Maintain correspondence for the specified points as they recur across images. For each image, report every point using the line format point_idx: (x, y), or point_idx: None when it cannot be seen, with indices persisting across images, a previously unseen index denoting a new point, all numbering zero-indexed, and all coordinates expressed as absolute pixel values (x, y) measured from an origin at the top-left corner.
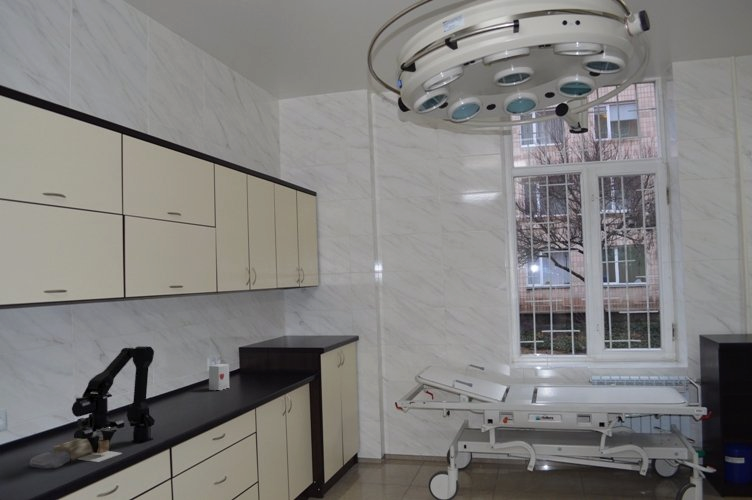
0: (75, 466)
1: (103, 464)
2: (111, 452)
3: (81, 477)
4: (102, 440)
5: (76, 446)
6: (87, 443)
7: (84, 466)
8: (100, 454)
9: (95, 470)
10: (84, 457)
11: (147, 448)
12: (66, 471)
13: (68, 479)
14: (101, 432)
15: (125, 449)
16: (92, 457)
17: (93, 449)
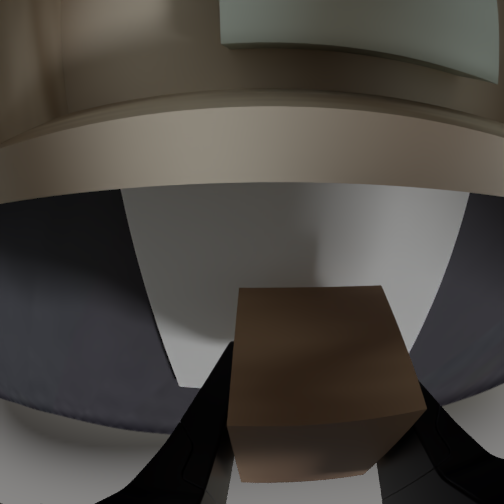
0: (48, 317)
1: (178, 415)
2: (405, 321)
3: (55, 414)
4: (347, 460)
5: (36, 154)
6: (335, 171)
7: (90, 362)
8: (336, 283)
9: (114, 422)
10: (180, 208)
11: (475, 389)
12: (6, 331)
13: (17, 391)
14: (474, 502)
15: (487, 320)
16: (223, 291)
17: (214, 379)
